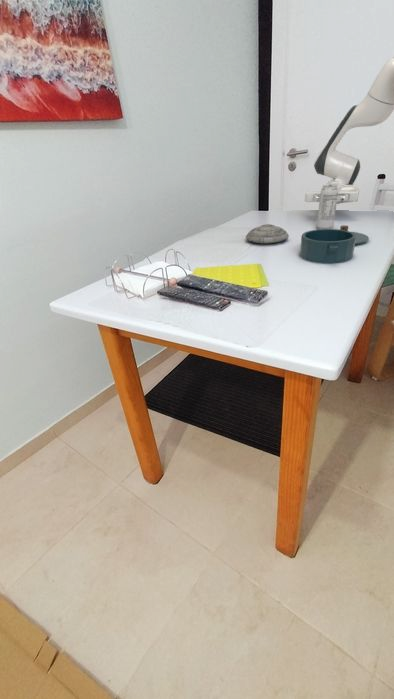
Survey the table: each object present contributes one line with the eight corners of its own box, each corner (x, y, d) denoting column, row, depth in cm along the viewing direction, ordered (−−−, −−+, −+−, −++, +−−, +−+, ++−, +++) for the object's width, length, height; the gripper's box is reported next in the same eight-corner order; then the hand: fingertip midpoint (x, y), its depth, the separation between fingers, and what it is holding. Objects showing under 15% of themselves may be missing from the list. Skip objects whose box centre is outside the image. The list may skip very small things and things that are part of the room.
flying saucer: (239, 245, 118) (239, 228, 115) (252, 234, 129) (253, 219, 126) (282, 247, 112) (283, 230, 109) (292, 235, 123) (293, 220, 120)
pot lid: (361, 233, 119) (363, 220, 116) (374, 246, 106) (377, 231, 103) (314, 235, 122) (316, 221, 119) (321, 247, 108) (323, 233, 106)
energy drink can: (331, 226, 130) (337, 183, 122) (333, 230, 125) (340, 186, 117) (315, 226, 131) (320, 184, 123) (317, 230, 126) (322, 186, 118)
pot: (344, 245, 109) (347, 226, 106) (360, 265, 92) (364, 243, 89) (297, 246, 111) (298, 227, 108) (304, 267, 95) (306, 245, 91)
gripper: (307, 185, 143) (302, 190, 132) (360, 184, 135) (359, 189, 125) (306, 201, 146) (301, 208, 135) (357, 201, 138) (356, 207, 128)
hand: (329, 199), depth 130 cm, fingers open, 8 cm apart
